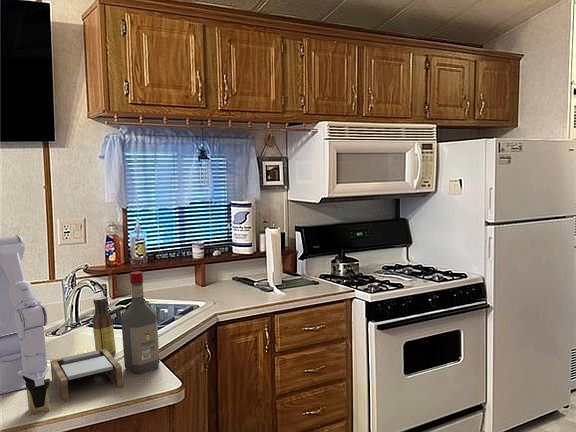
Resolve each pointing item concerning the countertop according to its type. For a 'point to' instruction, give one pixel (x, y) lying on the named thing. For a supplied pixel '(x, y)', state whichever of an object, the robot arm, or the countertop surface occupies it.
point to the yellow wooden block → (32, 408)
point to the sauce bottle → (103, 327)
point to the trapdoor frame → (61, 380)
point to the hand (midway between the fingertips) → (38, 403)
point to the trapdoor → (85, 365)
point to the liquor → (139, 331)
